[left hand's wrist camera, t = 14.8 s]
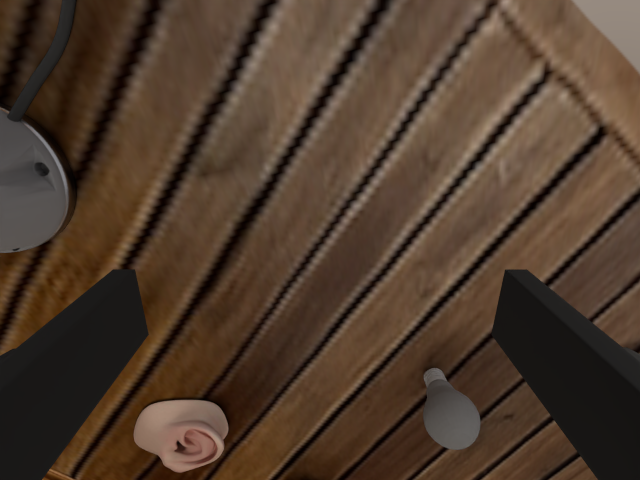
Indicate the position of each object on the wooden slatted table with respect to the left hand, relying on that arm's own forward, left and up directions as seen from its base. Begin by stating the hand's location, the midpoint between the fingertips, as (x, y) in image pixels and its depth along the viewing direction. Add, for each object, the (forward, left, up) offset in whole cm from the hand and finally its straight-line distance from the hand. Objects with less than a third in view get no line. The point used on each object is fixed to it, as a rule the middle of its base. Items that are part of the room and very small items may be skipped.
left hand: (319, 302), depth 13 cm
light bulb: (+14, +27, -26) cm, 39 cm away
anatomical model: (+41, +4, -26) cm, 48 cm away
